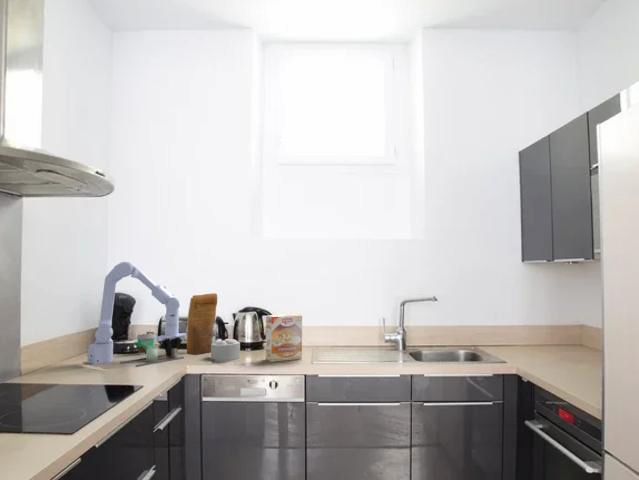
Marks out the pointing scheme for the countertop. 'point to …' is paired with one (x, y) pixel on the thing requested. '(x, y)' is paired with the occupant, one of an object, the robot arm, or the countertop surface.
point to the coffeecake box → (283, 337)
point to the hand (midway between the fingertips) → (171, 355)
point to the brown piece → (173, 355)
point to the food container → (145, 342)
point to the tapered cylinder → (151, 354)
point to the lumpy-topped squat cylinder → (225, 350)
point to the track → (151, 362)
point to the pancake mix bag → (201, 323)
